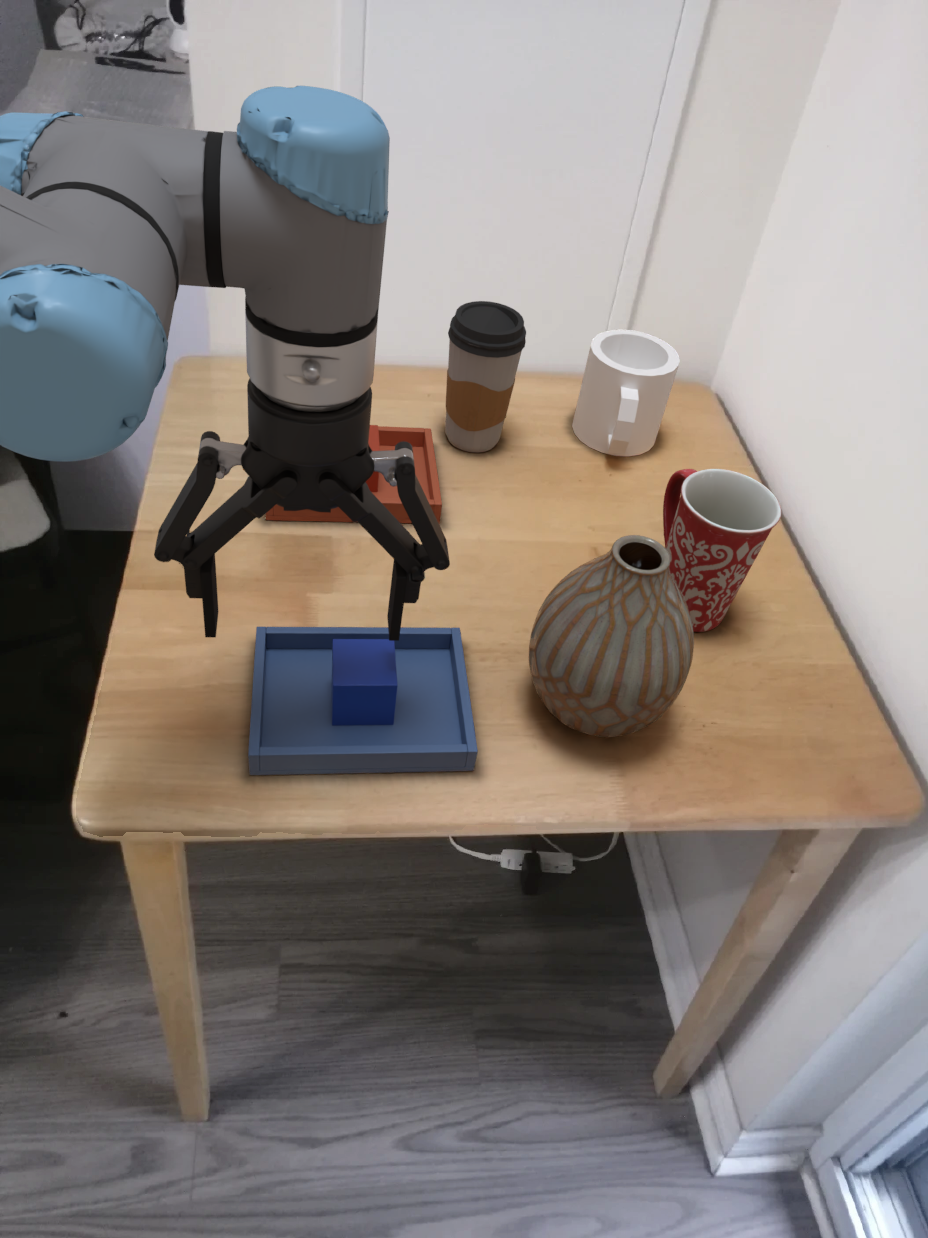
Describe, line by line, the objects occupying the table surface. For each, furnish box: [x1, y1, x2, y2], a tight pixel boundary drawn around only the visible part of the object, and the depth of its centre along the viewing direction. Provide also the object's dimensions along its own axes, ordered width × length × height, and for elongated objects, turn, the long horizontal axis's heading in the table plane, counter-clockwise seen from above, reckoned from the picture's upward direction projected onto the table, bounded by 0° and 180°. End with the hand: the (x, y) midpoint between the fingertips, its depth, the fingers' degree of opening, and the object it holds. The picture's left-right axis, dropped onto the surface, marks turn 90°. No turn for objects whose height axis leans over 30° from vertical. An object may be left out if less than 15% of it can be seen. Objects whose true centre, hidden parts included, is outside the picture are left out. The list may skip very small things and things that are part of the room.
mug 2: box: [662, 468, 782, 633], centre depth 89 cm, size 13×9×14 cm
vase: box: [528, 534, 695, 738], centre depth 76 cm, size 13×13×18 cm
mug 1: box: [571, 328, 680, 457], centre depth 108 cm, size 14×10×11 cm
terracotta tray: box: [265, 425, 443, 525], centre depth 99 cm, size 18×14×3 cm
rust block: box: [366, 424, 380, 492], centre depth 98 cm, size 5×5×5 cm
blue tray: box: [247, 626, 479, 776], centre depth 78 cm, size 18×14×3 cm
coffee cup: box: [444, 300, 527, 453], centre depth 103 cm, size 8×8×15 cm
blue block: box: [332, 639, 398, 726], centre depth 76 cm, size 5×5×5 cm
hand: (304, 626), depth 71 cm, fingers open, 13 cm apart
